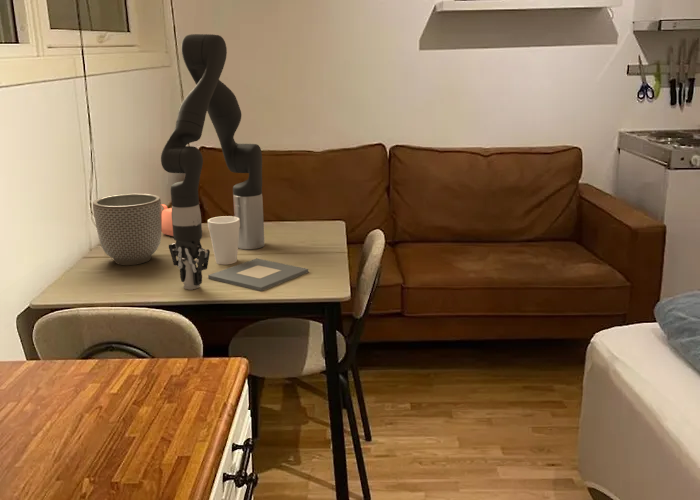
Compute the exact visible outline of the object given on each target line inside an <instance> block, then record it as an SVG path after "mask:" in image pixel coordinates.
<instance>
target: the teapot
mask: <svg viewBox="0 0 700 500" xmlns="http://www.w3.org/2000/svg"><path fill="white" fill-rule="evenodd" d="M161 208H162V210H161V216H162V232H161V234H164V235H167V236H171V237H173V226H172V207H170V208H168V205H166V204H163V203H161Z"/></svg>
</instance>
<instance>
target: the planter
mask: <svg viewBox="0 0 700 500" xmlns="http://www.w3.org/2000/svg"><path fill="white" fill-rule="evenodd" d="M161 204H162V200H161V197H160V196H159V195H157V194H152V193H121V194H114V195H107V196H104V197H99V198H97V199H95V200H94V201H93V202H92V210H93V216H94V221H95V227H96V231H97V236H98V241H99V243H100V246H101V248H102V250H103V251H104V253H105V254H106V255H107V256H108V257H109V258H111V259H112V260H113V261H114V262H115V263H116V264H117V265H121V266H135V265H140V264H145V263H147V262H149V261H150V260H151V259H152V255H154V254H155V252H156V251H157V250H158V249H159V247H160V245H161V240H162V216H161V215H162V205H161Z"/></svg>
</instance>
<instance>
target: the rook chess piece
mask: <svg viewBox="0 0 700 500" xmlns="http://www.w3.org/2000/svg"><path fill="white" fill-rule="evenodd" d="M193 260H195V259H193ZM184 264H185V265H186V268H185V269H186V278H185V281H184V282H182V285H183V286H182V287H183V288H184V289H185V290H187V289H188V291H189V290H190V291H193V289H194V290H197V289H199V288H200V287H201V284H200V285H197V286H196V285H194V281H193V269H192V265H191V264H190V263H189V260H187V258H186V259H185V262H184Z"/></svg>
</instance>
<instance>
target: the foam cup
mask: <svg viewBox="0 0 700 500" xmlns="http://www.w3.org/2000/svg"><path fill="white" fill-rule="evenodd" d="M239 227H240V219H239V218H238V217H234V215H233V216H232V215H228V216H227V215H225V216H224V215H223V216H221V215H220V216H215V217H211V218H209V219H207V229H208V231H209V236H210V240H211V245H212V246H211V247H212V250H213V254H214V260H215V263H216V264H217V265H232V264H235V263H237V261H238V253H239V251H238V250H239V248H238V239H239Z"/></svg>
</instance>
